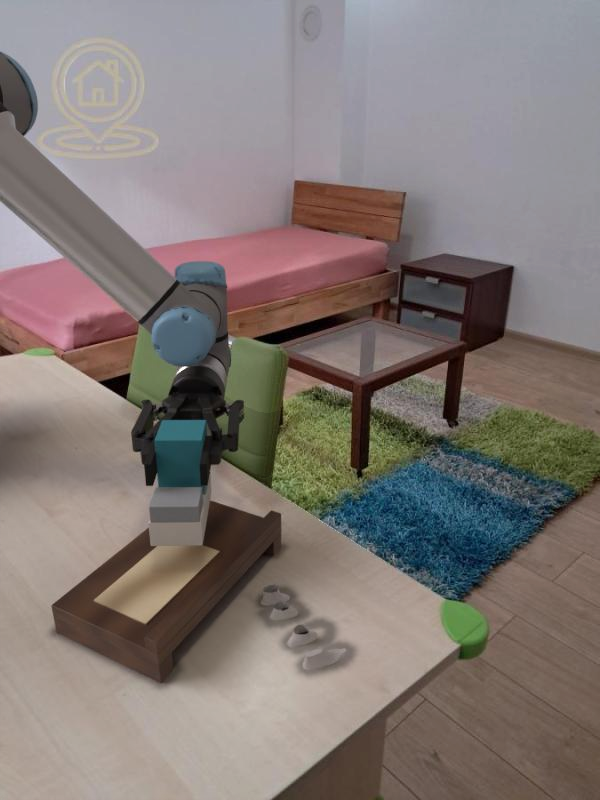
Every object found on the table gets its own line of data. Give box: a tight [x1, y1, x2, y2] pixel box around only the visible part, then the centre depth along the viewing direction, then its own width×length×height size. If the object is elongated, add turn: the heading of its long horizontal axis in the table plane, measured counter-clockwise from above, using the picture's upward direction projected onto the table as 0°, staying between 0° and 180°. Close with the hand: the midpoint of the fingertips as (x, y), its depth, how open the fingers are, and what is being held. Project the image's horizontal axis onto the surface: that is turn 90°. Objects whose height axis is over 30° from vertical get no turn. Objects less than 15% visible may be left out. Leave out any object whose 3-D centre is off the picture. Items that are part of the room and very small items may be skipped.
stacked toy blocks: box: [148, 420, 212, 546], centre depth 72 cm, size 11×6×10 cm, turn 2°
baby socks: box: [260, 584, 347, 671], centre depth 68 cm, size 12×5×3 cm, turn 29°
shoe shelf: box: [50, 499, 282, 684], centre depth 73 cm, size 14×24×6 cm, turn 152°
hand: (176, 474), depth 68 cm, fingers closed on stacked toy blocks, 5 cm apart
